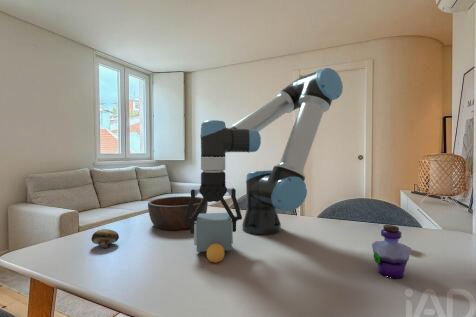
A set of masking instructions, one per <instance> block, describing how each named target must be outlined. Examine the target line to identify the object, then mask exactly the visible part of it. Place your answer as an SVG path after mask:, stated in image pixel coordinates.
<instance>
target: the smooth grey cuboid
mask: <svg viewBox="0 0 476 317" xmlns="http://www.w3.org/2000/svg"><path fill="white" fill-rule="evenodd" d="M196 229H197V245H196V253H201V252H207V249H208V247H209V246H210V245H212V244H220V245H221V246H222V247H223V248H224V251H232V249H233V246H232V219H231V217H230V216H229V214H228V212H210V213H209V212H206V213H203V214H199V215H198V217H197V221H196Z"/></svg>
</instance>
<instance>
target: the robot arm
mask: <svg viewBox="0 0 476 317" xmlns="http://www.w3.org/2000/svg"><path fill="white" fill-rule="evenodd" d="M343 87H344V86H343V81H342V79H341V77H340V74H339V73H338V72H337V71H336V70H335V69H333V68H331V67H324V68H322V69H321V68H320V69H318V70H317V71H314V72H312V73H309V74H307V75H304V76H301V77H299V78H297V79H295V80H293V81H292V82H291V83H290V84H288V85H287V86H286V87H285V88H283V89H282V90H280V91H278V92H277V94H276V96H274V98H272V99H271V100H269V101H268V102H266V103H265V104H264V105H261V106H260V107H258V108H257V109H256V110H254V111H252V112H250V114H248V115H247V116H245V117H244V118H242V119H240V120H239V121H238V122H236V123H234V124H232V125H231V126H230V127H226V123H225V121H224V120H218V119H217V120H216V119H215V120H214V119H213V120H212V119H209V120H204V121H202V123H201V125H200V126H201V127H200V170H201V171H202V172H201V173H200V186H199V187H200V188H191V189H190V196H191V198H190V202H189V205H188V208H187V211H186V215H185V218H184V221H185V222H189V223H190V229H189V230H190V231H189V232H190V234H191V235H192V234H193V240H194V241H193V244H194V245H193V246H197V229H196V222H195V220H196V218H197V217H198V215H199V213H200V212H201V210H202V208H203V206H204V205H205V203H206V202H207V201H208V203H212V202H216V203H219V202H221V204H222V206H223V208H224V209H225V211H226V213H228V214H229V216H230V218H231V220H232V244H233V243H234V241H233V239H234V234H233V233H236V231H237V222H238V221H241V220H242V219H243V221H242V226H241V227H242V231H244V232H246V233H248V234H254V235H273V234H277V233H279V232H281V231H282V230H281V229H282V227H281V226H282V225H281V221H280V218H279V214H278V211H277V210H280V211H285V212H289V211H290V212H291V211H295V210H296V209H299V208H300V207H301V206H302V205H303V203H304V202H305V200H306V198H307V193H308V189H307V185H306V184H307V183H305V179H306V176H305V174H304V169H305V166H306V164H307V160H308V157H309V154H310V151H311V149H312V145H313V143H314V141H315V137H316V136H317V132H318V129H319V126H320V123H321V121H322V118H323V114H324V113H326V112H328V111H329V109H330V108H331V105H332V103H333V101H334V100H337V99H339V98H340V97H341V96H342V94H343ZM297 109H299V110H298V113H297V114H296V115H297V116H296V118H295V121H294V124H293V126H292V128H291V132H290V135H289V136H288V140H287V142H286V145H285V148H284V150H283V153H282V156H281V158H280V160H279V163H277V164H276V165H274V166H273V168H272V170H271V169H269V170H268V169H267V170H259V171H257V170H256V171H249V172H247V174H246V178H245V179H246V180H245V183H246V210H245V211H246V212H245V214H244V218H243V215H242V213H241V209H240V207H239V203H238V200H237V196H236V195H237V194H236V192H237V190H236V188H235V187H231V188H228V187H227V186H226V172H225V170H226V153H255V152H257V151H258V150H259V149H260V147H261V144H262V142H261V140H262V137H261V135H260V131H262V130H264V129H265V128H266V127H268V126H269V125H271V124H272V123H273V122H275V121H276V120H278V119H279V118H281V117H282V116H283V115H285V114H286V113H287V114H290V113H292V112H294V111H295V110H297ZM227 193H228V195H229V196H230V198H231V200H232V203H233V207H234V210H235V211H234V212H235V215H234V214H233V211H232V210H231V208H230V206H229V205H228V204H227V201H226V200H225V198H224V196H225V195H226V194H227ZM198 194H200V195H202V196H201V197H202V198H203V199H202V200H201V202H200V204H199V206H198V207H197V209H196V211H195V212H194V214H193V216H192V218H191V217H189V216H190V212H191V209H192V206H193V203H194V199H195V197H198Z"/></svg>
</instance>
